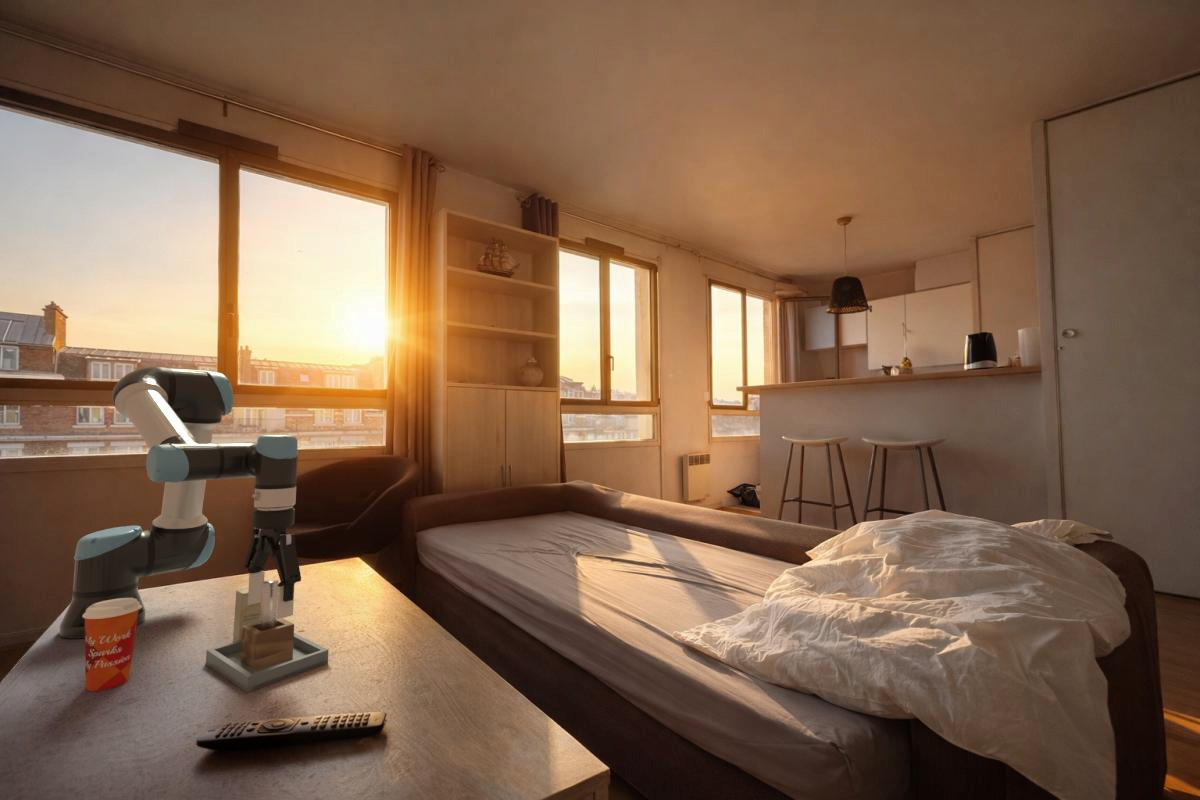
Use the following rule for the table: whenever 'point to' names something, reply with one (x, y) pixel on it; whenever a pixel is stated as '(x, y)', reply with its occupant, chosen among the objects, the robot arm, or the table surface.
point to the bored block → (267, 644)
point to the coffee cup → (109, 642)
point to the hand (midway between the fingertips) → (269, 609)
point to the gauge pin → (269, 604)
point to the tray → (249, 679)
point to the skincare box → (244, 613)
